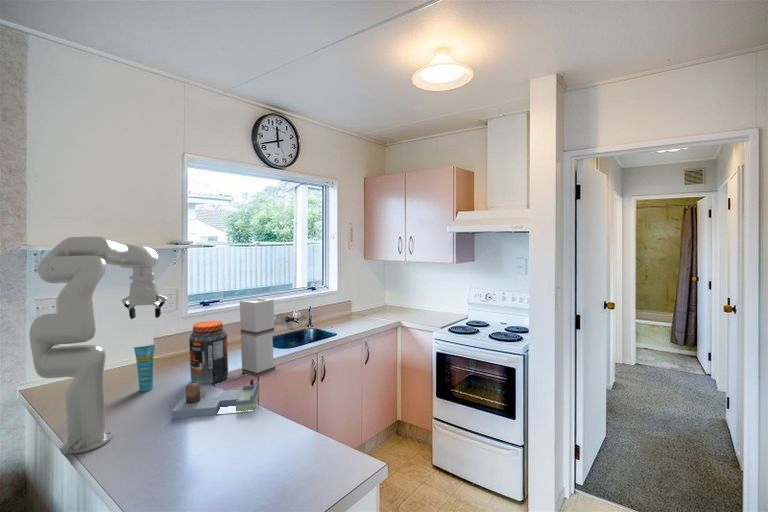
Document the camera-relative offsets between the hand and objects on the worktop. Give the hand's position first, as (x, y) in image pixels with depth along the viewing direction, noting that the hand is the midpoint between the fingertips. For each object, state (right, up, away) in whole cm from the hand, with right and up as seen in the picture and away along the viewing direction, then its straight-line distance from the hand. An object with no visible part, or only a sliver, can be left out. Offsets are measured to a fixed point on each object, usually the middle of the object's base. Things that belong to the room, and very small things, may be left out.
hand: (145, 317), depth 163 cm
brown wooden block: (+30, -29, -19) cm, 46 cm away
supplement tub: (+23, -30, +11) cm, 40 cm away
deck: (+39, -32, -17) cm, 53 cm away
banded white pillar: (+42, -30, +20) cm, 55 cm away
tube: (0, -31, 0) cm, 31 cm away
